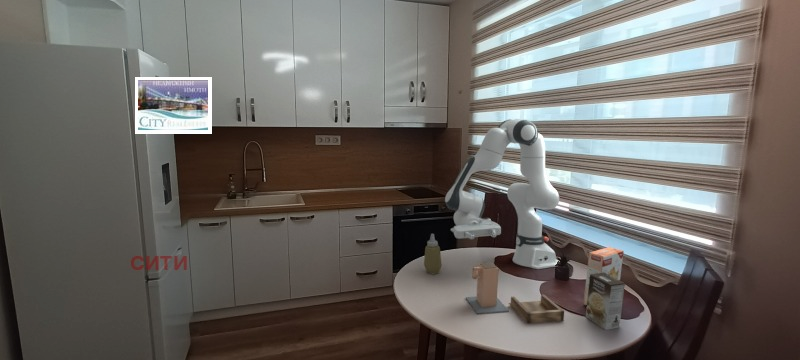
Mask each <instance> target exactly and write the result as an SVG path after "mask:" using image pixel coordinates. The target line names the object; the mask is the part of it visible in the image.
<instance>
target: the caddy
mask: <svg viewBox="0 0 800 360" xmlns="http://www.w3.org/2000/svg"><path fill="white" fill-rule="evenodd" d="M508 305H509V306H510V307H511V308H513V310H514V311H515V312H516V313H517V314H518V315H519V316H520V317H521V318H522V319H523V321H525V322H526V323H527V324H535V323H537V324H539V323H549V322H563V321H564V319H565V310H564V309H562V308H561V307H560V306H559V305H558V304H556V303H555V302H554V301H553V300H551V299H550V298H549V297H548V296H547V295H546V294H540V300H534V301H523V302H522V301H521V302H520V301H519V300H518V299H517V298H516V297H515V296H511V297H510V302H509V303H508Z"/></svg>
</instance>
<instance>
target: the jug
mask: <svg viewBox="0 0 800 360" xmlns="http://www.w3.org/2000/svg"><path fill="white" fill-rule="evenodd" d="M471 269H472V272H471V274H472V275H471V279H473V280H477V281H476V282H477V283H476V296H477V297H476V296H475V297H476V300H477V301H478V302H479V304H480V305H481V306H482V307H488V306H496V305H497V298H498V288H499V287H498V286H499V285H498V284H499V269H500V268H499V267H497V265H495V263H493V262H480V263H477V266H472V268H471Z"/></svg>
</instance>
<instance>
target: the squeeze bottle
mask: <svg viewBox="0 0 800 360" xmlns="http://www.w3.org/2000/svg"><path fill="white" fill-rule="evenodd" d="M429 237H430V238H429V240H427V242H426V243H427V245H426V246H425V248H424V249H425V250H424V258H423V259H424V261H423V265H424V268H425V271H426V273H427V274H430V275H436V274H439V273H440V271H441V267H442V266H443V263H442V257H441V256H442V255H441V247H440V246H439V242H438V240H436V239H435V233H430V236H429Z"/></svg>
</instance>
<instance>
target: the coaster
mask: <svg viewBox="0 0 800 360" xmlns="http://www.w3.org/2000/svg"><path fill="white" fill-rule="evenodd" d="M476 297H477V295H476V296H465V299H466V301H467V303H468V304H469V306H471V308H472V309H473V311H474V312H475V313H476V314H477V315H485V314H486V315H487V314H499V313H509V312H510V310H509V309H508V308H507V307H506V305H505V303H503V302H502V301H501V300H500V299H499V298H498V297H497V305H496V306H488V307H482V306H481V305H480V304H479V302H478V301H477V300H476Z"/></svg>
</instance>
